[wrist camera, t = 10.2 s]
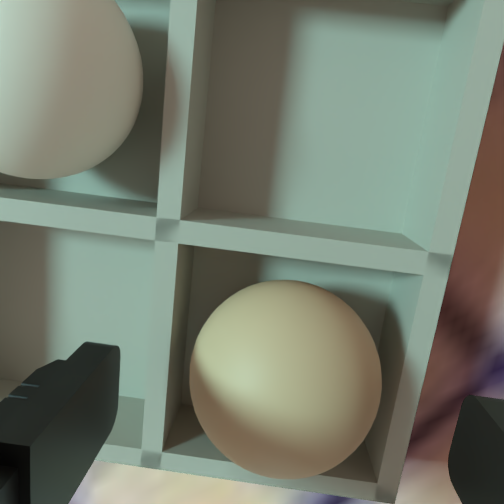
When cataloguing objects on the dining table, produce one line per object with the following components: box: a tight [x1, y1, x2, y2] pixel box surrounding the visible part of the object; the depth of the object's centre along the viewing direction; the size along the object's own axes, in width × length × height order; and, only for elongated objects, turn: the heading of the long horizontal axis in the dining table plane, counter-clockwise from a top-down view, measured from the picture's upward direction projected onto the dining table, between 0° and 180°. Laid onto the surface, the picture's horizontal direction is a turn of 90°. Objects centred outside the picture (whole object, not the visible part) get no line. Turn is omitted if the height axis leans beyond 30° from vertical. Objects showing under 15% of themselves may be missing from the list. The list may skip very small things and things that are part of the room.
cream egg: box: [0, 0, 143, 179], centre depth 10 cm, size 5×5×5 cm
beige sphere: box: [189, 280, 382, 479], centre depth 11 cm, size 5×5×5 cm
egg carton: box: [0, 0, 504, 504], centre depth 12 cm, size 14×21×3 cm
